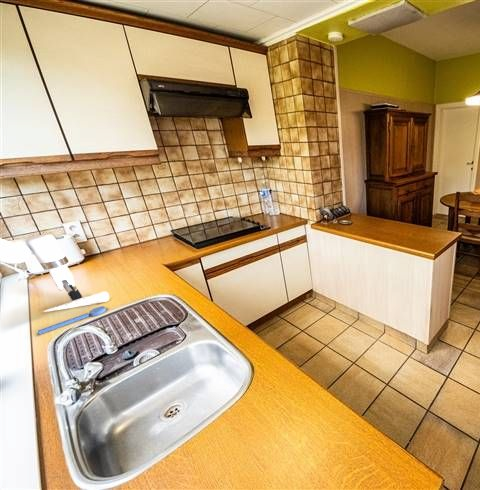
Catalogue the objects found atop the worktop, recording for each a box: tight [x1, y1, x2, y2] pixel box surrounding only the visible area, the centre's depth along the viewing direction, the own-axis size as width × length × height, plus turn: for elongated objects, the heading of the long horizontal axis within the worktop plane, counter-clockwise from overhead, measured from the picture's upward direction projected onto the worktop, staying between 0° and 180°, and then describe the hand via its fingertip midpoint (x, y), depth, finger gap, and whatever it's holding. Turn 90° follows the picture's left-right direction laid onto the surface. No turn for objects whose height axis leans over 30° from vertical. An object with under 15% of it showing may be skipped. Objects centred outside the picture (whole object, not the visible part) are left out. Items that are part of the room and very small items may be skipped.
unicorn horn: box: [42, 291, 110, 313], centre depth 119 cm, size 5×24×5 cm, turn 104°
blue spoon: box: [37, 305, 107, 335], centre depth 109 cm, size 20×5×1 cm, turn 136°
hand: (77, 298), depth 120 cm, fingers closed
